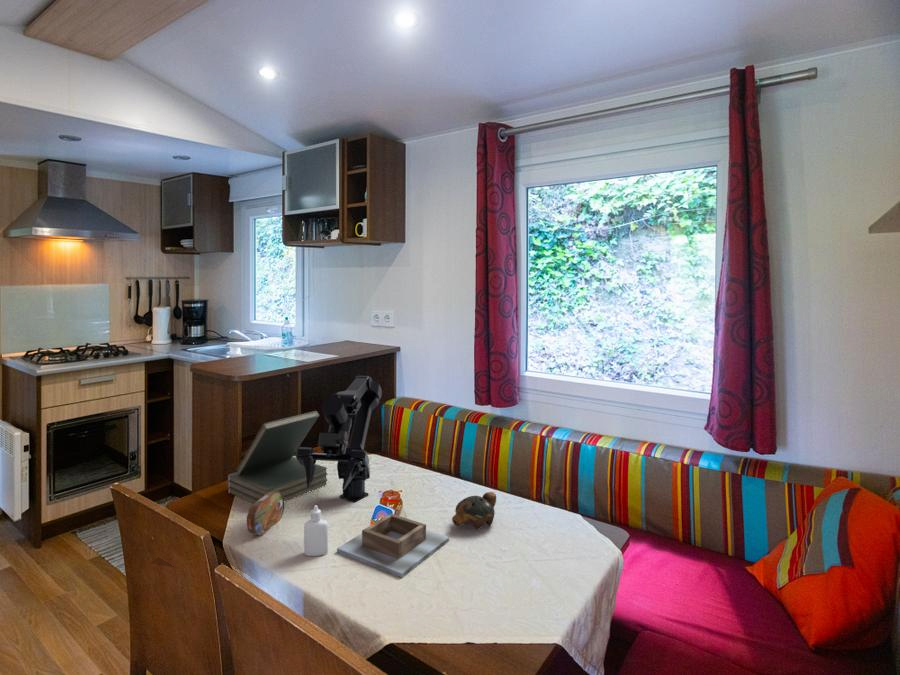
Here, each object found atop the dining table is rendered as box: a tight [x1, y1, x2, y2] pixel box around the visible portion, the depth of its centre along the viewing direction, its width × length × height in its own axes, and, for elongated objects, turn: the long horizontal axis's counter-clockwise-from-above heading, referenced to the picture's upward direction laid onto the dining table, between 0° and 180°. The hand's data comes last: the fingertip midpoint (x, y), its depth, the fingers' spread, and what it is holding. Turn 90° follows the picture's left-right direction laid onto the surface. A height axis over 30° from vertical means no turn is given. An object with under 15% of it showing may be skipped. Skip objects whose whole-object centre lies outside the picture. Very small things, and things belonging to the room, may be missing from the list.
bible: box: [227, 410, 328, 504], centre depth 164 cm, size 23×20×25 cm
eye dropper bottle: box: [303, 505, 329, 557], centre depth 126 cm, size 4×6×12 cm
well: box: [336, 513, 450, 578], centre depth 130 cm, size 20×20×5 cm
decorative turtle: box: [451, 491, 497, 530], centre depth 143 cm, size 10×15×8 cm, turn 135°
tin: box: [246, 492, 286, 536], centre depth 139 cm, size 15×3×8 cm, turn 168°
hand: (325, 488), depth 133 cm, fingers open, 9 cm apart
